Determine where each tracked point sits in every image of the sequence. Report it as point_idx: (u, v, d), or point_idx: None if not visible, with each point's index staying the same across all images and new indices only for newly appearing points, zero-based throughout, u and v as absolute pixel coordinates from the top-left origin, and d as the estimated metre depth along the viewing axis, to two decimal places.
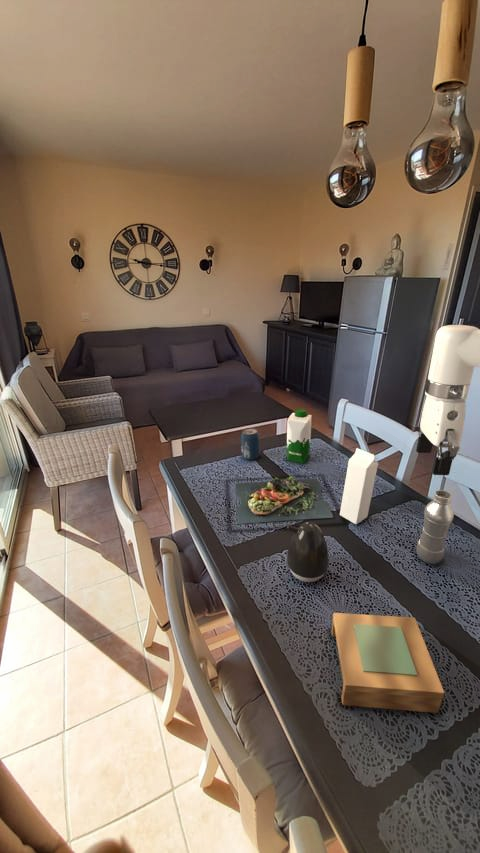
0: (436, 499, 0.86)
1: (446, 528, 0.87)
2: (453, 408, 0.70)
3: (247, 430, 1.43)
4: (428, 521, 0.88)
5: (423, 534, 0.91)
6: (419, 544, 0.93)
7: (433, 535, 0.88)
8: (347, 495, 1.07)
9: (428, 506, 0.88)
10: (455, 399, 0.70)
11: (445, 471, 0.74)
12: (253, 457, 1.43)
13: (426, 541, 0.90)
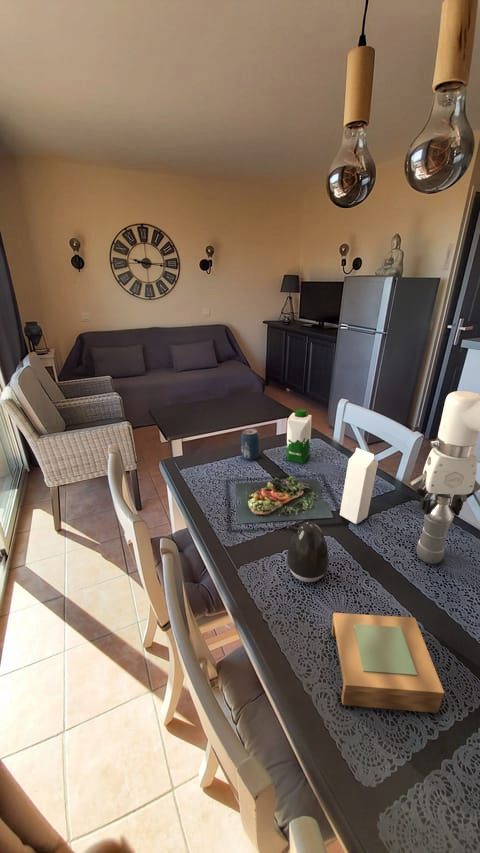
0: (436, 499, 0.86)
1: (446, 528, 0.87)
2: (431, 455, 0.82)
3: (247, 430, 1.43)
4: (428, 521, 0.88)
5: (423, 534, 0.91)
6: (419, 543, 0.93)
7: (433, 535, 0.88)
8: (347, 494, 1.07)
9: None
10: (437, 450, 0.81)
11: (421, 507, 0.88)
12: (253, 457, 1.43)
13: (426, 541, 0.90)
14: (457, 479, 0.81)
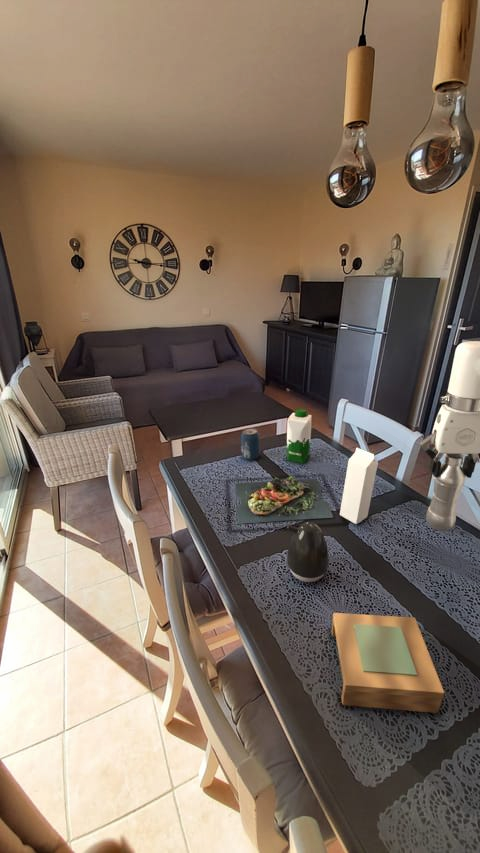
0: (447, 460, 0.81)
1: (458, 491, 0.82)
2: (440, 412, 0.78)
3: (247, 430, 1.43)
4: (439, 485, 0.83)
5: (433, 500, 0.86)
6: (429, 510, 0.88)
7: (444, 499, 0.84)
8: (347, 494, 1.07)
9: None
10: (447, 406, 0.77)
11: (431, 470, 0.83)
12: (253, 457, 1.43)
13: (436, 507, 0.86)
14: (469, 436, 0.77)
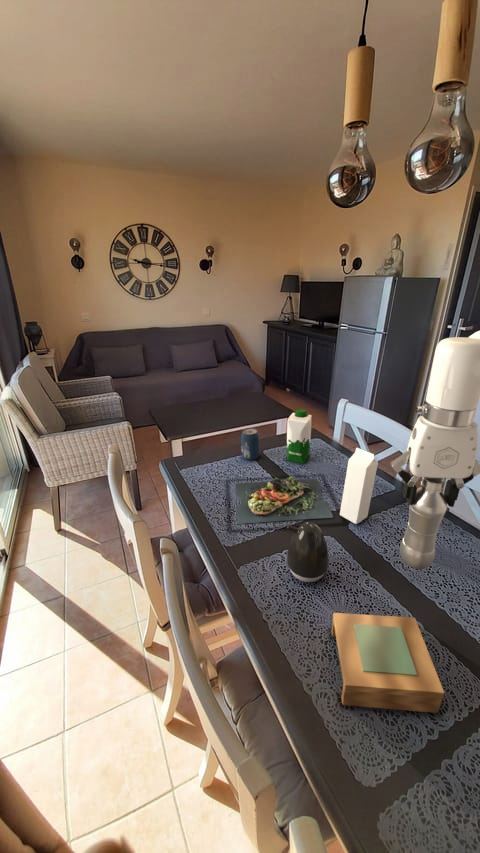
0: (424, 485, 0.66)
1: (437, 523, 0.67)
2: (416, 426, 0.62)
3: (247, 430, 1.43)
4: (414, 514, 0.68)
5: (408, 530, 0.71)
6: (403, 543, 0.72)
7: (421, 532, 0.68)
8: (347, 494, 1.07)
9: None
10: (424, 418, 0.61)
11: (404, 496, 0.68)
12: (253, 457, 1.43)
13: (411, 540, 0.70)
14: (451, 457, 0.61)
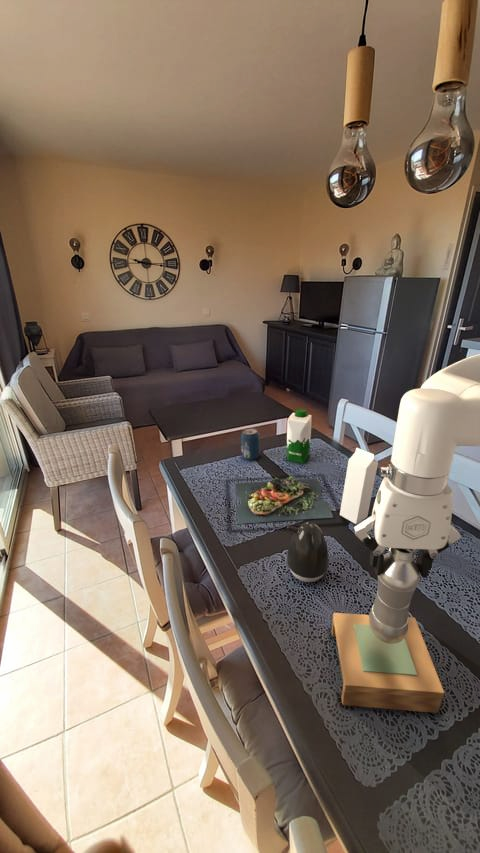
0: (393, 553, 0.56)
1: (408, 596, 0.57)
2: (381, 489, 0.53)
3: (247, 430, 1.43)
4: (382, 585, 0.58)
5: (377, 600, 0.62)
6: (372, 613, 0.63)
7: (390, 605, 0.59)
8: (347, 494, 1.07)
9: None
10: (389, 481, 0.52)
11: (371, 564, 0.58)
12: (253, 457, 1.43)
13: (380, 612, 0.61)
14: (421, 527, 0.52)
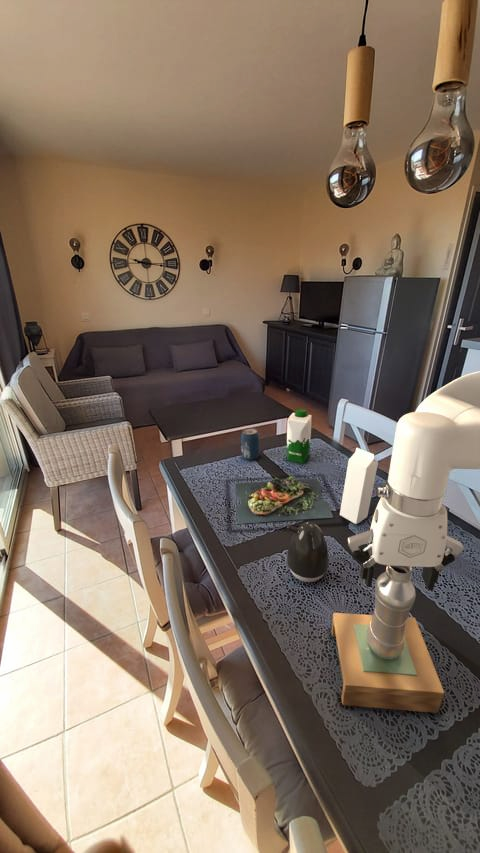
0: (389, 573, 0.58)
1: (405, 614, 0.59)
2: (378, 508, 0.54)
3: (247, 430, 1.43)
4: (379, 603, 0.60)
5: (374, 617, 0.63)
6: (370, 629, 0.65)
7: (387, 622, 0.61)
8: (347, 494, 1.07)
9: (379, 580, 0.60)
10: (386, 501, 0.53)
11: (361, 576, 0.59)
12: (253, 457, 1.43)
13: (378, 629, 0.63)
14: (417, 546, 0.53)
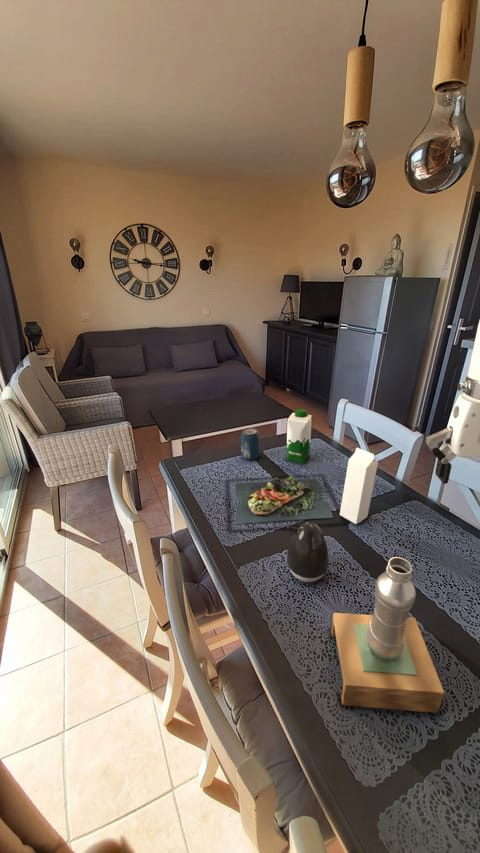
0: (389, 573, 0.58)
1: (405, 614, 0.59)
2: (458, 404, 0.60)
3: (247, 430, 1.43)
4: (379, 603, 0.60)
5: (374, 617, 0.63)
6: (370, 629, 0.65)
7: (387, 622, 0.61)
8: (347, 494, 1.07)
9: (379, 580, 0.60)
10: (467, 395, 0.58)
11: (438, 474, 0.65)
12: (253, 457, 1.43)
13: (378, 629, 0.63)
14: None
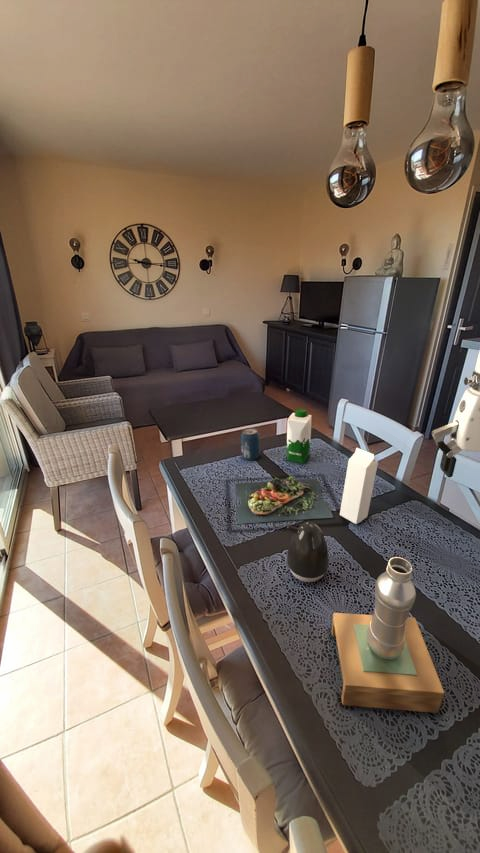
0: (389, 573, 0.58)
1: (405, 614, 0.59)
2: (465, 398, 0.60)
3: (247, 430, 1.43)
4: (379, 603, 0.60)
5: (374, 617, 0.63)
6: (370, 629, 0.65)
7: (387, 622, 0.61)
8: (347, 494, 1.07)
9: (379, 580, 0.60)
10: (474, 390, 0.59)
11: (442, 468, 0.65)
12: (253, 457, 1.43)
13: (378, 629, 0.63)
14: None
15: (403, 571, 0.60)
